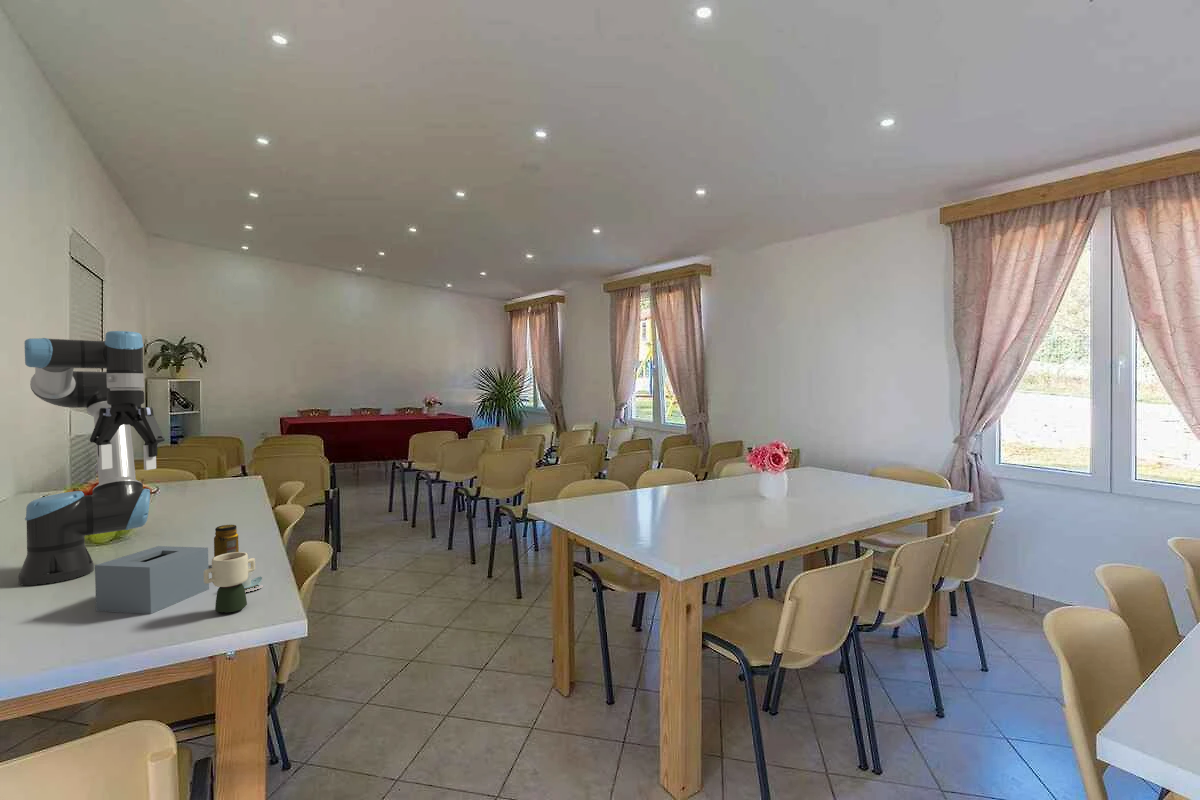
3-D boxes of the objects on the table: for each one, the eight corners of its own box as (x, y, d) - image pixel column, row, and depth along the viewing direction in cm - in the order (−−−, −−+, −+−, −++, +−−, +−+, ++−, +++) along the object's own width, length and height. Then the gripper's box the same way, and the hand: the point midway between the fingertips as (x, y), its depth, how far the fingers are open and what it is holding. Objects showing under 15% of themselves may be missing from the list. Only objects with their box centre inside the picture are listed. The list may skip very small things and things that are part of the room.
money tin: (96, 610, 130) (94, 565, 129) (159, 586, 145) (158, 546, 145) (150, 613, 127) (149, 567, 127) (209, 588, 143) (208, 547, 143)
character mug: (249, 599, 136) (247, 548, 135) (263, 605, 132) (261, 552, 131) (198, 615, 126) (196, 559, 126) (211, 622, 122) (210, 565, 122)
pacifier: (267, 589, 143) (258, 583, 147) (267, 565, 143) (258, 561, 147) (236, 597, 138) (227, 591, 141) (235, 573, 137) (227, 568, 141)
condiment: (239, 561, 167) (238, 522, 167) (242, 567, 161) (241, 527, 160) (210, 566, 163) (209, 526, 162) (212, 573, 156) (211, 531, 156)
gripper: (70, 390, 143) (72, 470, 143) (153, 389, 139) (155, 471, 139) (100, 390, 150) (102, 466, 150) (179, 389, 146) (181, 467, 147)
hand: (128, 469), depth 145 cm, fingers open, 13 cm apart
